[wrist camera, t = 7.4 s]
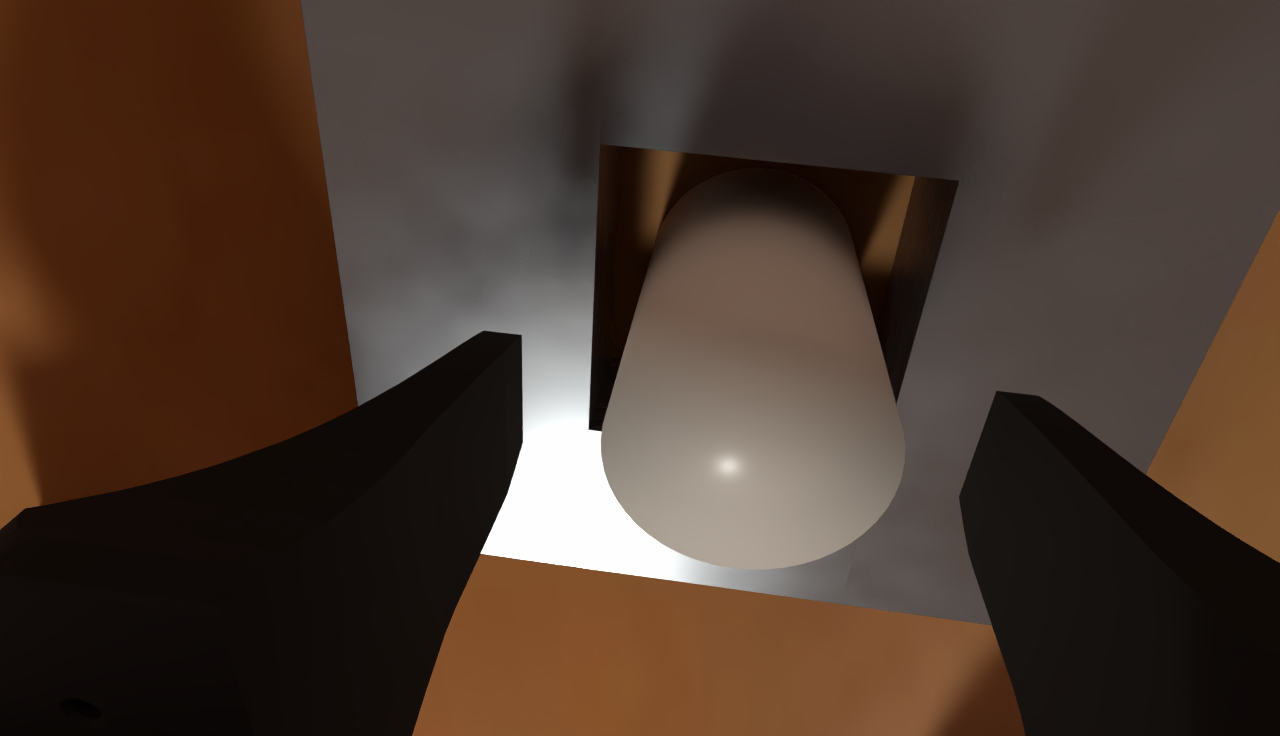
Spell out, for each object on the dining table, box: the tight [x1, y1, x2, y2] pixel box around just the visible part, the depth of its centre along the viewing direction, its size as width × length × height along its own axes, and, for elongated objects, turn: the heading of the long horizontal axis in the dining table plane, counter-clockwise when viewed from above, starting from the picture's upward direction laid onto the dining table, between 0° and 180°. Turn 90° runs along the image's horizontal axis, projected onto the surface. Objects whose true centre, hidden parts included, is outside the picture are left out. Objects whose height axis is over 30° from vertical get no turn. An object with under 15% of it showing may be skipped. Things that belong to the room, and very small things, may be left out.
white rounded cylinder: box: [601, 168, 905, 570], centre depth 15 cm, size 4×4×7 cm
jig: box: [301, 0, 1280, 625], centre depth 16 cm, size 16×14×3 cm
